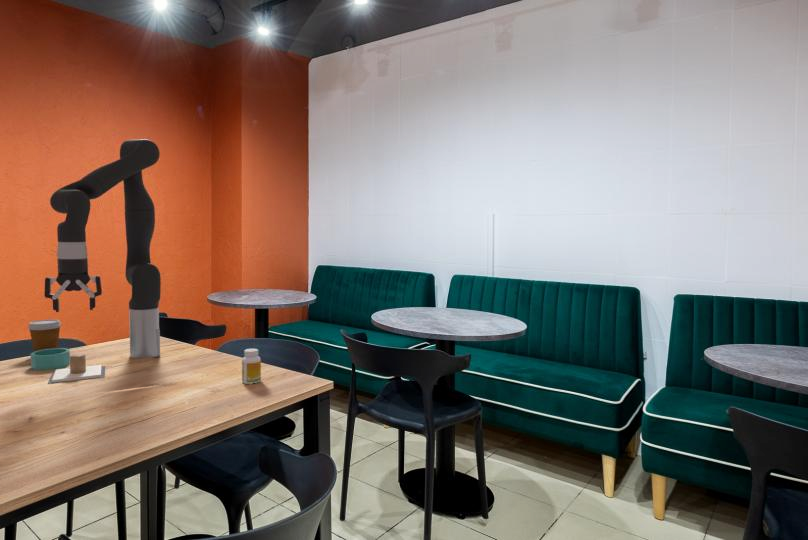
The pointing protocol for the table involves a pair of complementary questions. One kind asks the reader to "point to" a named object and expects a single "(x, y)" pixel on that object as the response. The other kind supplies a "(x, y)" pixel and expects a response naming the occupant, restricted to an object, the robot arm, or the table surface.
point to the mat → (78, 380)
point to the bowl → (50, 359)
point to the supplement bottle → (251, 367)
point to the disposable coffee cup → (44, 334)
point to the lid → (77, 370)
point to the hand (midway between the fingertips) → (74, 310)
